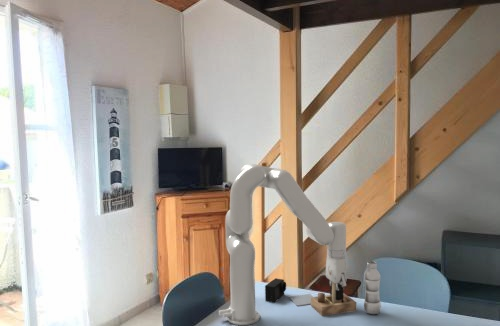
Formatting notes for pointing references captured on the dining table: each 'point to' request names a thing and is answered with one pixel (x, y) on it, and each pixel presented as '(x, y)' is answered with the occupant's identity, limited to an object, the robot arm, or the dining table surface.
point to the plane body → (328, 308)
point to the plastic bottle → (372, 289)
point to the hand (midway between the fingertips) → (336, 296)
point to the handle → (334, 292)
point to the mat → (301, 299)
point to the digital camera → (275, 290)
